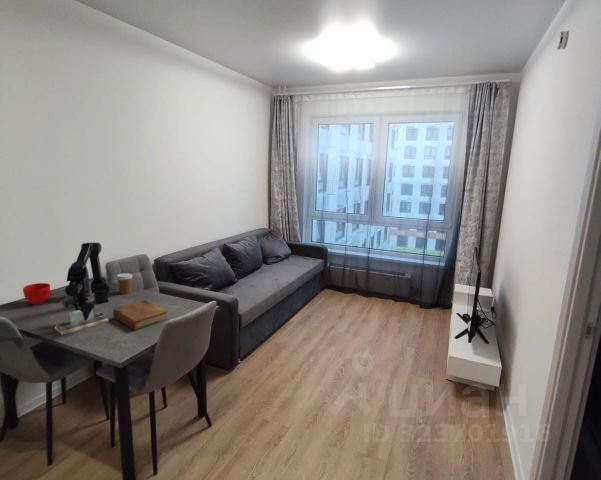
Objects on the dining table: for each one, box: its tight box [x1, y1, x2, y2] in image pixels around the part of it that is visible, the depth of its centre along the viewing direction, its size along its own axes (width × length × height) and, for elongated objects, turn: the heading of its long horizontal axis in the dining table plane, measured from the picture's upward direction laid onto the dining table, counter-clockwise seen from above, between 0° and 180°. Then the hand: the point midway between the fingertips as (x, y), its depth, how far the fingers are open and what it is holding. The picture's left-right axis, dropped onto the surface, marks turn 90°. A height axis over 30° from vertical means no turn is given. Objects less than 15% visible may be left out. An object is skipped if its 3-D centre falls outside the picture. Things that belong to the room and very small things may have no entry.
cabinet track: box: [54, 311, 109, 336], centre depth 185 cm, size 22×10×3 cm, turn 141°
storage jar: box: [70, 273, 91, 299], centre depth 221 cm, size 10×10×15 cm
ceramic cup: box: [22, 282, 53, 305], centre depth 210 cm, size 13×17×10 cm
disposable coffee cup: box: [116, 272, 134, 295], centre depth 232 cm, size 10×10×12 cm
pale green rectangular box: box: [69, 308, 94, 324], centre depth 184 cm, size 10×3×7 cm, turn 141°
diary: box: [112, 300, 169, 332], centre depth 195 cm, size 23×19×6 cm
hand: (82, 317), depth 184 cm, fingers open, 9 cm apart
